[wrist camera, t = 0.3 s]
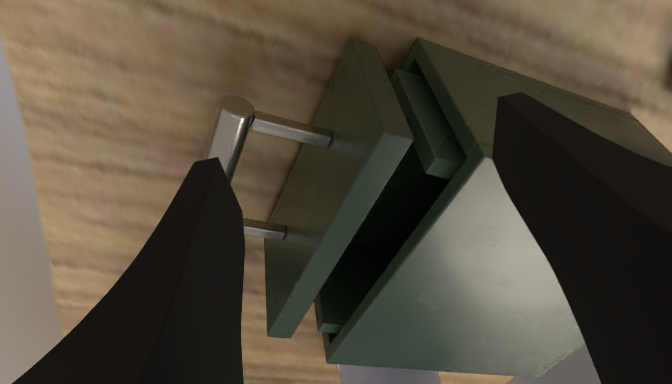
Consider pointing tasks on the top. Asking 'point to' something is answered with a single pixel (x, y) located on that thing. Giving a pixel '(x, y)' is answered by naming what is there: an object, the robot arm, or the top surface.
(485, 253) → the cabinet
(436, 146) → the drawer
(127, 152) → the top surface
